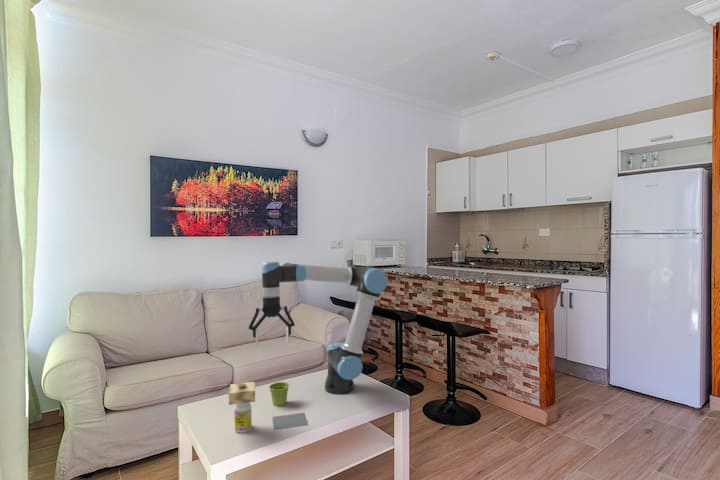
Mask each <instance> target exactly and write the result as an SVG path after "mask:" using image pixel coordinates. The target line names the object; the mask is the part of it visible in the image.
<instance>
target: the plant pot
mask: <svg viewBox="0 0 720 480" xmlns="http://www.w3.org/2000/svg"><path fill="white" fill-rule="evenodd" d="M289 387H290V383H288V382H286V381H280V382H278V381H277V382H273V383H272V384H270V385H269V386H268V389H269V392H270V394H271V395H270V396H271V400H272V405H273V406H274V407H282V406H285V405H287V400H288V391H289Z"/></svg>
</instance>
